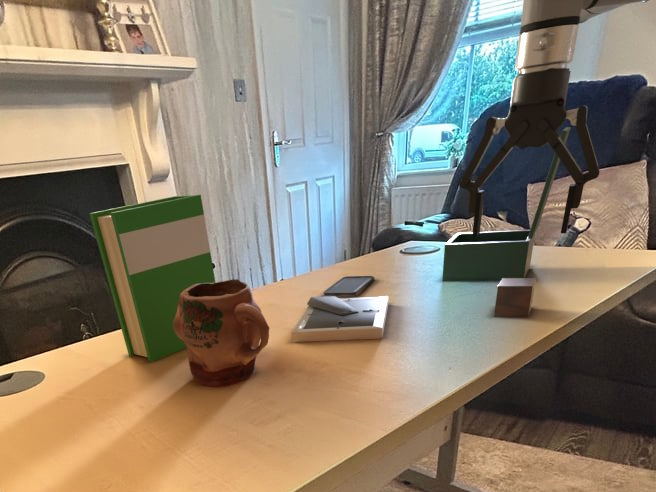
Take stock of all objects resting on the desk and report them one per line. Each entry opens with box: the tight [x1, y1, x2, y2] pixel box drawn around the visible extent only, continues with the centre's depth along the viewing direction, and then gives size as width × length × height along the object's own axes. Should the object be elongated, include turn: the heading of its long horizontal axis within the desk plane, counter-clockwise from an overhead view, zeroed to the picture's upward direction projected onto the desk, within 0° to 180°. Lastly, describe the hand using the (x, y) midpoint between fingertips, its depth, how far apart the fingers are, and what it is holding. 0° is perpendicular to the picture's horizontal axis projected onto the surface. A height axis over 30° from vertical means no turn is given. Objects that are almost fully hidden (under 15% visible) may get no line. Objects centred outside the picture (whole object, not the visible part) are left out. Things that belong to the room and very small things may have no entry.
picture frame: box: [291, 295, 389, 343], centre depth 100 cm, size 16×3×21 cm
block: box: [493, 277, 537, 318], centre depth 93 cm, size 6×6×6 cm
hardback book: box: [89, 194, 216, 363], centre depth 95 cm, size 18×7×24 cm, turn 136°
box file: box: [441, 229, 536, 282], centre depth 116 cm, size 17×13×8 cm
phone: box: [323, 275, 375, 298], centre depth 121 cm, size 8×1×15 cm
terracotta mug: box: [173, 278, 270, 388], centre depth 80 cm, size 20×12×14 cm, turn 49°
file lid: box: [528, 126, 571, 239], centre depth 104 cm, size 18×13×1 cm
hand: (518, 233), depth 88 cm, fingers open, 13 cm apart
